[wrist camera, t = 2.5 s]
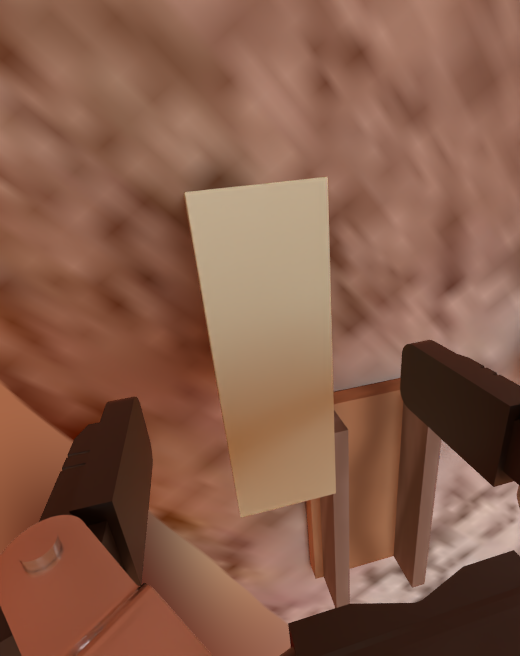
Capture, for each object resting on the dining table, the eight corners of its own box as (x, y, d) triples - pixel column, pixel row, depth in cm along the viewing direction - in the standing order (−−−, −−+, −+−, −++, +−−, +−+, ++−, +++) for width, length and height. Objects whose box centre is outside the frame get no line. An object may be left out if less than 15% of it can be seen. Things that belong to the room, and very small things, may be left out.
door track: (415, 374, 28) (455, 405, 24) (403, 536, 35) (432, 581, 31) (298, 399, 27) (319, 436, 23) (310, 563, 34) (327, 613, 30)
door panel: (251, 187, 21) (327, 176, 10) (269, 363, 25) (336, 493, 14) (183, 194, 20) (184, 192, 9) (215, 374, 25) (240, 517, 14)
